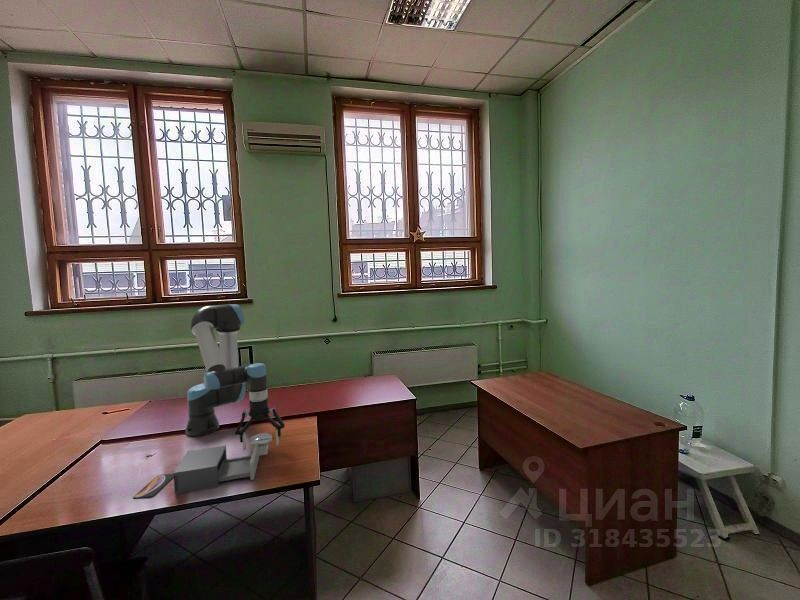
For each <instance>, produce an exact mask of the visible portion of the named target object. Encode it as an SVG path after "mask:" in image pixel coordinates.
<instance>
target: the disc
mask: <svg viewBox="0 0 800 600" xmlns="http://www.w3.org/2000/svg"><path fill="white" fill-rule="evenodd" d="M272 436H273V435H272V434H271V433H270V432H269V433H268V432H263V433H258V434H255V435H253V436H251V437H250V438H249V445H250V446H251V447H254V446H255V444H256V443H258V446H264V445H266V444H268V445H269V444H271V442H272V441H273V437H272Z"/></svg>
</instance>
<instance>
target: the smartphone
mask: <svg viewBox="0 0 800 600" xmlns="http://www.w3.org/2000/svg"><path fill="white" fill-rule="evenodd" d="M172 480H174V474H173V473H167V474H166V473H165V474H158V475H156V476H155V477H154V478H153V479H151V480H150V481H149V482H148V483H147V484H146V485H145V486H143V488H141V490H139V491H138V492H137V493H136V494H134V496H133V497H132V499H133V500H138V499H139V500H141V499H152V498H154V497H156V496H157V495H158V494H159V493H160V492H161V491H162V490H163V489H164V488H165V487H166V486H168V484H169V483H170V482H171V481H172Z"/></svg>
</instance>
